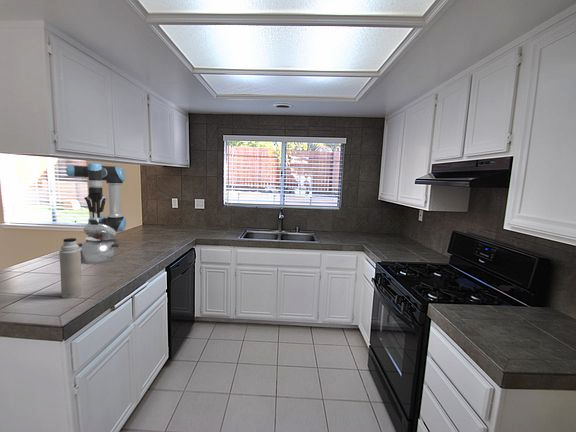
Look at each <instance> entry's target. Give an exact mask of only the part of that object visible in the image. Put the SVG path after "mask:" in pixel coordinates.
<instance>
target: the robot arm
mask: <svg viewBox="0 0 576 432" xmlns="http://www.w3.org/2000/svg"><path fill="white" fill-rule="evenodd" d="M65 171H66V175H67V176H68V177H72V178H88V179H87V180H88V181H87V182H88V195H87V196H86V197H84V200H85V202H86V205H87V208H88V212H90V213H92V216H91V217H89V218H88V220H87V224H91V223H90V222H89V220H97V221H98V223H99V224H104V225H107V226H110V227H111V228H113V229H114V230H115V231H116V233H121V232H124V231H125V229H126V225H127V218H126V217H125V215H123V213H122V185H123V184H124V183H123V182H125V181H126V175H125V171H124V169H123V167H122V166H115V165H114V166H112V165H102V164H101V163H98V162H97V163H96V162H95V163H94V162H88V164H87V165H74V164H72V165H71V164H70V165H67V166H66V170H65ZM103 181H106V184H107V185H108V197H105V196H104V195H103ZM107 199H108V205H109V206H108V207H109V208H108V209H109V210H108V211H109V214H108V215H107V217H106V216H105V215H101V213H102V212H104V209H105V205H106V201H107ZM87 236H88V235H87ZM88 237H90V236H88Z"/></svg>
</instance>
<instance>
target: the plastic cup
mask: <svg viewBox="0 0 576 432" xmlns="http://www.w3.org/2000/svg"><path fill="white" fill-rule="evenodd" d="M84 240H85V242H89V241H98V240H99V239H95V238H92V237H85V238H84Z"/></svg>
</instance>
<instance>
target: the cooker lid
mask: <svg viewBox="0 0 576 432" xmlns="http://www.w3.org/2000/svg"><path fill="white" fill-rule="evenodd" d="M89 222H90V223H91V224H88V223H87V224H85V225H84V227H83V232H84V234H85V235H87V236H90V237H92V238H95V239H99V240H109V241H111V240H113V239H115V238H116V235H117V232H116V231H115V230H114V229H113V228H111V227H110V226H107V225H104V224H99V223H98V221H97V220H89Z"/></svg>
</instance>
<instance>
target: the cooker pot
mask: <svg viewBox="0 0 576 432" xmlns="http://www.w3.org/2000/svg"><path fill="white" fill-rule="evenodd" d="M76 244H77V245H78V246H79V248H81V249H82V251H81V252H82V253H81V254H82V263H83V264H86V265H101V264H107V263H111V262H114V260H115V248H119V247H120V243H115V242H114V241H113V240H98V241H89V242H86V241H85V242H83V243H80V242H79V243H76Z"/></svg>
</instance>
